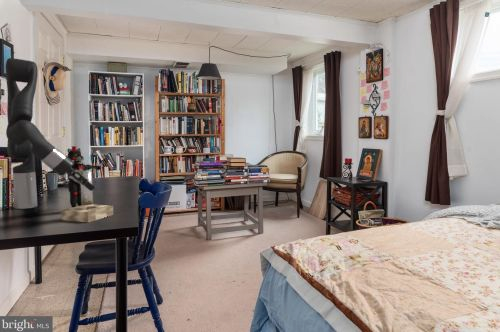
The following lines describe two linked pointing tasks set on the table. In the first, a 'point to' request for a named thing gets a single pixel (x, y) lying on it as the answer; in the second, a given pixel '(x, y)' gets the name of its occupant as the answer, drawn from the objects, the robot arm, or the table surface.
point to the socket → (87, 213)
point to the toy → (78, 165)
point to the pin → (86, 189)
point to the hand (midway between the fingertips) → (91, 188)
